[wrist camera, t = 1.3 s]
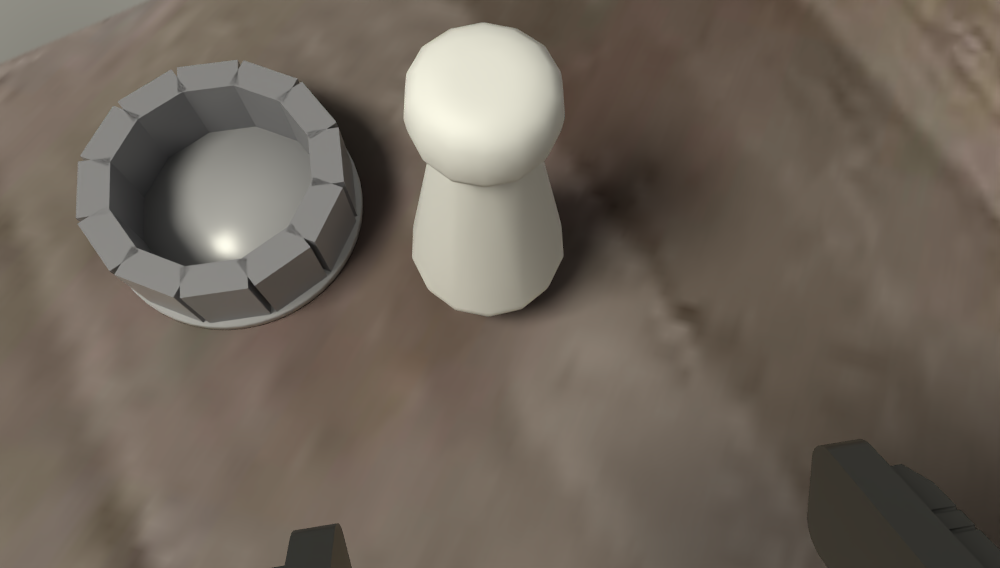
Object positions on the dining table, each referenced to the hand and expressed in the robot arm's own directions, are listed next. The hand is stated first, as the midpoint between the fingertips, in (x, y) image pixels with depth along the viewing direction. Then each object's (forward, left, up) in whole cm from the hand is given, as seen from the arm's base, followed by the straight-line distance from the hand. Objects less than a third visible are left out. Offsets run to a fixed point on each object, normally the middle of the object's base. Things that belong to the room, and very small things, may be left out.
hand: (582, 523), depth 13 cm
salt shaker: (0, -11, -16) cm, 19 cm away
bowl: (+10, -15, -16) cm, 24 cm away
